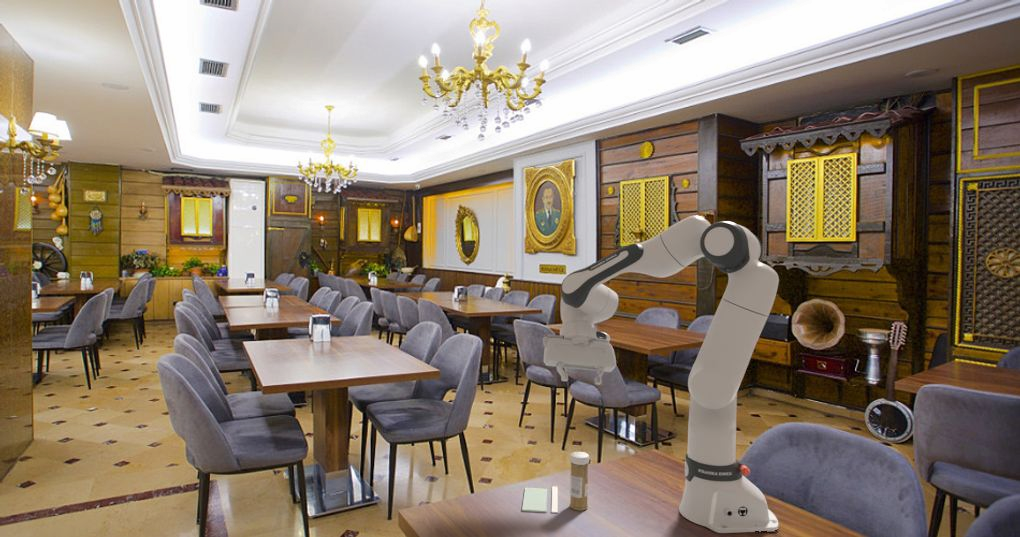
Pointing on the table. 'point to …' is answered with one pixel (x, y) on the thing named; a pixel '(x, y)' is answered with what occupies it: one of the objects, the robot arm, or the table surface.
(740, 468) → the robot arm
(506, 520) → the table surface
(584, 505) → the sprinkles bottle
